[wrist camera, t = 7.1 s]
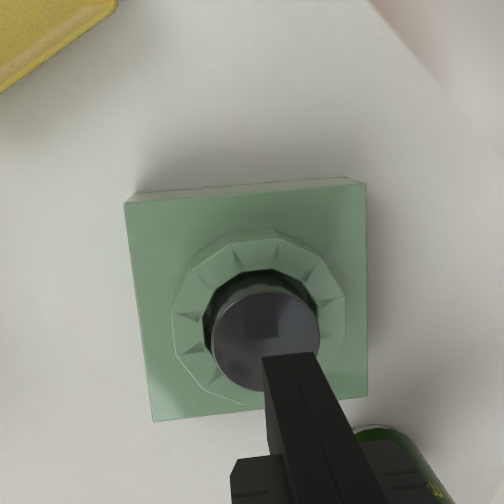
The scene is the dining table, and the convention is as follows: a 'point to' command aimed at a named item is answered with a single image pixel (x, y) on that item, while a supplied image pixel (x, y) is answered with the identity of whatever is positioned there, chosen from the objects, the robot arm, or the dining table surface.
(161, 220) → the button base
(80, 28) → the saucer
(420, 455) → the green soda can
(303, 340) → the grey knob
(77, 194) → the dining table surface
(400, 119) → the dining table surface
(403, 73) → the dining table surface
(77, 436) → the dining table surface
